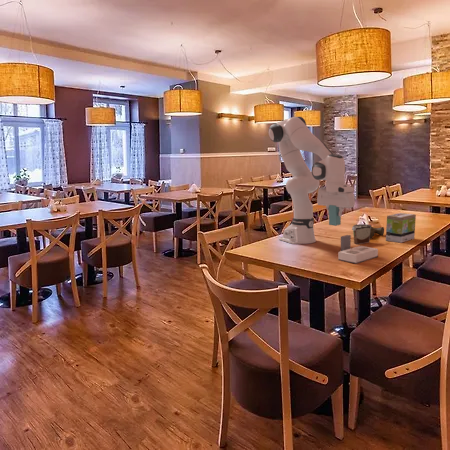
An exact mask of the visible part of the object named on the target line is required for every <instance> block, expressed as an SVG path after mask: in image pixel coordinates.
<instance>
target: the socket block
mask: <svg viewBox="0 0 450 450" xmlns="http://www.w3.org/2000/svg"><path fill="white" fill-rule="evenodd" d="M337 255H338V256H337V257H338V258H337V259H338V261H341V262H347V263H350V264H355V265H356V264H360V263H363V262H366V261H369V260H372V259H374V258H378V256H379V249H378V248H374V247H369V246H364V245H358V246H355V247H351V248H350V249H347V250H344V251H341V250H340V251H338V254H337Z"/></svg>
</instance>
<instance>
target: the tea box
mask: <svg viewBox="0 0 450 450" xmlns="http://www.w3.org/2000/svg"><path fill="white" fill-rule="evenodd" d="M416 219H417V217H416V214H413V213H406V212H405V213H404V212H399V213H393V214H389V215H388V214H387V216H386V225H385V226H386V228H385V229H386V230H385V241H388V242H393V243H400V244H401V243H405V242H407V241H411V239H412V240H414V239H415V237H416V236H415V234H416V233H415V232H416Z"/></svg>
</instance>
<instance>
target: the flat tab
mask: <svg viewBox="0 0 450 450" xmlns="http://www.w3.org/2000/svg"><path fill="white" fill-rule="evenodd" d="M351 241H352V239H351V235H350V234H346V235H345V234H344V235H341V236H340V251H344V250H347V249H351V248H352V247H351Z"/></svg>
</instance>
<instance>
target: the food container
mask: <svg viewBox="0 0 450 450" xmlns="http://www.w3.org/2000/svg"><path fill="white" fill-rule="evenodd" d="M371 227H372V225H371V224H367V223H364V224H362V223H358V224H353V226H352V229H351V230H352V232H353V243H354V244H355V245H362V244H369V243H370V240H371V239H370V230H371Z"/></svg>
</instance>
